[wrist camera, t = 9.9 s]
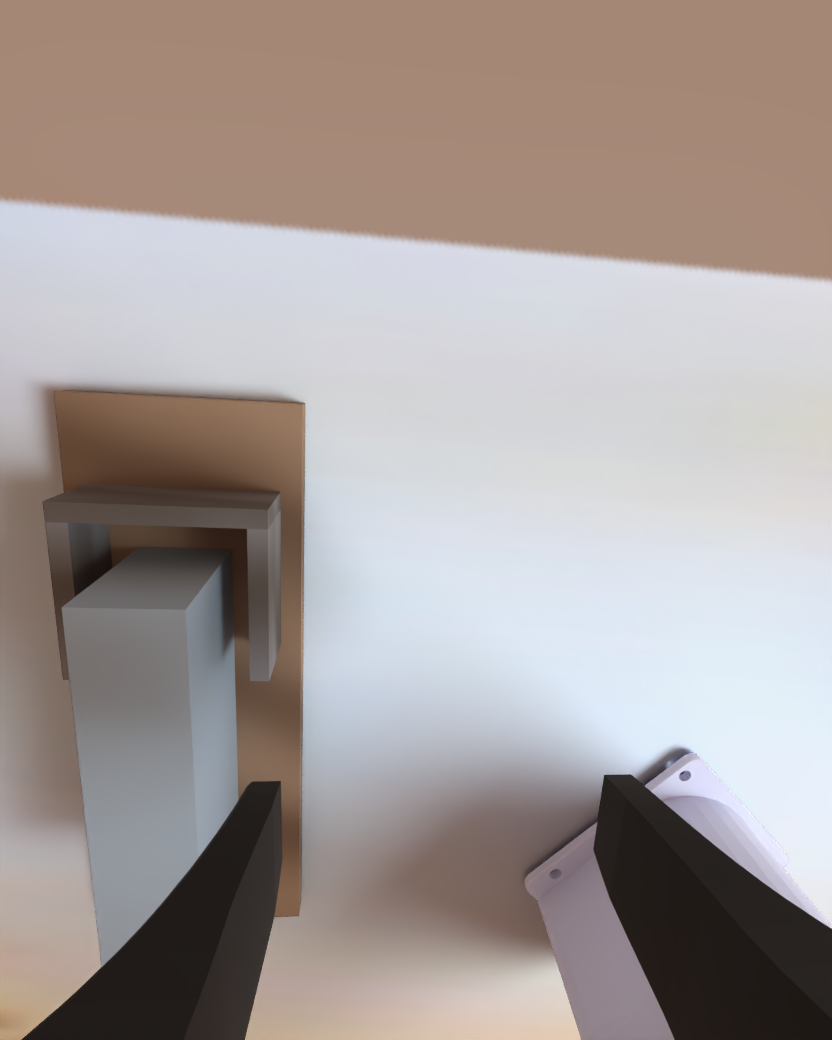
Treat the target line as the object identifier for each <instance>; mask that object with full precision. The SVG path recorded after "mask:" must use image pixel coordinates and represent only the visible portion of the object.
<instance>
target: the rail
mask: <svg viewBox="0 0 832 1040" xmlns="http://www.w3.org/2000/svg"><path fill="white" fill-rule="evenodd" d="M62 616H63V625H64V634H65V643H66V652H67V661H68V670H69V679H70V688H71V697H72V706H73V715H74V724H75V733H76V742H77V751H78V760H79V769H80V778H81V787H82V796H83V805H84V814H85V823H86V832H87V841H88V850H89V859H90V868H91V877H92V886H93V895H94V904H95V913H96V922H97V931H98V940H99V949H100V957H101V966H103V965H104V964H105V963H106V962H107V961H108V960H109V959H110V958H111V957H112V956H113V955H115V954H116V953H117V952H118V951H119V950H120V948H121V947H122V946H123V945H124V944H125V943H126V942H127V941H128V940H129V939H130V938H131V937H132V936H133V935H134V934H135V933H136V932H137V930H138V929H139V928H140V927H141V926H142V925H143V924H144V923H145V922H146V921H147V920H148V918H149V917H150V916H151V915H152V914H153V913H154V912H155V910H156V909H157V908H158V907H159V906H160V905H161V904H162V902H163V901H164V900H165V899H166V898H167V896H168V895H169V894H170V893H171V892H172V890H173V889H174V888H175V887H176V885H177V884H178V883H179V882H180V880H181V879H182V878H183V877H184V876H185V874H186V873H187V872H188V871H189V869H190V868H191V867H192V866H193V864H194V863H195V862H196V860H197V859H198V858H199V856H200V855H201V854H202V852H203V851H204V849H205V848H206V847H207V845H208V844H209V843H210V841H211V840H212V839H213V837H214V836H215V834H216V833H217V832H218V830H219V829H220V827H221V826H222V824H223V823H224V821H225V820H226V819H227V817H228V816H229V814H230V813H231V811H232V810H233V808H234V806H235V805H236V803H237V802H238V763H237V726H236V689H235V652H234V616H233V579H232V549H202V548H168V547H139V548H138V549H137V550H135V551H134V552H133V553H131V554H130V555H129V556H127V557H126V558H125V559H124V560H122V561H121V562H120V563H118V564H117V565H116V566H115V567H113V568H112V569H111V570H109V571H108V572H107V573H105V574H104V575H103V576H102V577H100V578H99V579H98V580H96V581H95V582H94V583H93V584H91V585H90V586H89V587H87V588H86V589H85V590H84V591H82V592H81V593H80V594H78V595H77V596H76V597H74V598H73V599H72V600H71V601H69V602H68V603H67V604H65V605H64V606H63V607H62Z"/></svg>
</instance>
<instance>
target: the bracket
mask: <svg viewBox="0 0 832 1040" xmlns="http://www.w3.org/2000/svg"><path fill="white" fill-rule="evenodd" d="M54 399H55V409H56V418H57V428H58V438H59V447H60V457H61V467H62V476H63V486H64V493H63V494H60V495H58V496H55V497H53V498H50V499H48V500H45V501H43V508H44V517H45V526H46V535H47V544H48V552H49V561H50V570H51V579H52V588H53V596H54V605H55V614H56V623H57V632H58V640H59V649H60V658H61V667H62V676H63V680H70V679H69V670H68V661H67V652H66V643H65V634H64V625H63V616H62V607H63V606H64V605H65V604H67V603H68V602H69V601H71V600H72V599H73V598H74V597H76V596H77V595H78V594H80V593H81V592H82V591H84V590H85V589H86V588H87V587H89V586H90V585H91V584H93V583H94V582H95V581H96V580H98V579H99V578H100V577H102V576H103V575H104V574H105V573H107V572H108V571H109V570H111V569H112V568H113V567H115V566H116V565H117V564H118V563H120V562H121V561H122V560H124V559H125V558H126V557H127V556H129V555H130V554H131V553H133V552H134V551H135V550H137V549H138V548H139V547H168V548H202V549H232V579H233V616H234V652H235V689H236V726H237V763H238V800H239V799H240V797H241V795H242V794H243V792H244V790H245V789H246V787H247V786H248V785H249V784H250V783H251V782H253V781H281V807H282V855H283V859H282V867H281V874H280V882H279V889H278V896H277V903H276V910H275V915H274V917H289V916H299V911H300V904H301V852H302V732H303V612H304V492H305V403H289V402H271V401H253V400H235V399H216V398H198V397H180V396H162V395H143V394H125V393H107V392H88V391H70V390H65V391H54Z"/></svg>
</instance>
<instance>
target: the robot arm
mask: <svg viewBox="0 0 832 1040" xmlns="http://www.w3.org/2000/svg"><path fill="white" fill-rule="evenodd" d="M683 771H685V772H684V773H683V774H681V775H679V774H680V773H681V772H683ZM282 859H283V855H282V807H281V781H253V782H251V783H250V784H249V785H248V786H247V787H246V789H245V790H244V792H243V794H242V795H241V797H240V799H239V800H238V802H237V803H236V805H235V806H234V808H233V810H232V811H231V813H230V814H229V816H228V817H227V819H226V820H225V821H224V823H223V824H222V826H221V827H220V829H219V830H218V832H217V833H216V834H215V836H214V837H213V839H212V840H211V841H210V843H209V844H208V845H207V847H206V848H205V849H204V851H203V852H202V854H201V855H200V856H199V858H198V859H197V860H196V862H195V863H194V864H193V866H192V867H191V868H190V869H189V871H188V872H187V873H186V874H185V876H184V877H183V878H182V879H181V880H180V882H179V883H178V884H177V885H176V887H175V888H174V889H173V890H172V892H171V893H170V894H169V895H168V896H167V898H166V899H165V900H164V901H163V902H162V904H161V905H160V906H159V907H158V908H157V909H156V910H155V912H154V913H153V914H152V915H151V916H150V917H149V918H148V920H147V921H146V922H145V923H144V924H143V925H142V926H141V927H140V928H139V929H138V930H137V932H136V933H135V934H134V935H133V936H132V937H131V938H130V939H129V940H128V941H127V942H126V943H125V944H124V945H123V946H122V947H121V948H120V950H119V951H118V952H117V953H116V954H115V955H113V956H112V957H111V958H110V959H109V960H108V961H107V962H106V963H105V964H104V965H103V966H102V967H101V968H100V969H99V970H98V971H97V972H96V973H95V974H94V975H93V976H92V977H91V978H90V979H89V980H88V981H87V982H86V983H85V984H84V985H83V986H82V987H81V988H80V989H79V990H78V991H76V992H75V993H74V994H73V995H72V996H71V997H70V998H69V999H68V1000H67V1001H66V1002H64V1003H63V1004H62V1005H61V1006H60V1007H59V1008H58V1009H56V1010H55V1011H54V1012H53V1013H52V1014H51V1015H49V1016H48V1017H47V1018H46V1019H45V1020H44V1021H42V1022H41V1023H40V1024H39V1025H38V1026H37V1027H36V1028H34V1029H33V1030H32V1031H31V1032H30V1033H29V1034H27V1035H26V1036H25V1037H24V1038H23V1039H22V1040H245V1036H246V1032H247V1028H248V1024H249V1020H250V1015H251V1011H252V1007H253V1003H254V999H255V995H256V990H257V986H258V982H259V978H260V974H261V970H262V965H263V961H264V957H265V953H266V949H267V944H268V940H269V936H270V932H271V928H272V923H273V919H274V915H275V910H276V903H277V896H278V889H279V882H280V874H281V867H282ZM788 860H789V857H788V855H787V854H786V853H785V852H784V850H783V849H782V848H781V847H780V846H779V845H778V844H777V843H776V841H775V840H774V839H773V838H772V837H771V836H770V835H769V834H768V832H767V831H766V830H765V829H764V828H763V827H762V826H761V825H760V823H759V822H758V821H757V820H756V819H755V818H754V817H753V816H752V814H751V813H750V812H749V811H748V810H747V809H746V808H745V807H744V805H743V804H742V803H741V802H740V801H739V800H738V799H737V798H736V796H735V795H734V794H733V793H732V792H731V791H730V790H729V789H728V787H727V786H726V785H725V784H724V783H723V782H722V781H721V780H720V778H719V777H718V776H717V775H716V774H715V773H714V772H713V771H712V769H711V768H710V767H709V766H708V765H707V764H706V763H705V762H704V760H703V759H702V758H701V757H700V756H699V755H697V754H695V753H689V754H686V755H684V756H683V757H681V758H680V759H679V760H677V761H676V762H675V763H673V764H672V765H671V766H670V767H668V768H667V769H666V770H664V771H663V772H662V773H660V774H659V775H658V776H656V777H655V778H654V779H653V780H651V781H650V782H649V783H647V784H646V785H645V786H644V785H643V784H642V783H640V782H639V781H638V780H637V779H635V778H634V777H633V776H632V775H604V781H603V787H602V794H601V801H600V807H599V814H598V821H597V822H596V823H595V824H594V825H592V826H591V827H590V828H588V829H587V830H586V831H584V832H583V833H582V834H580V835H579V836H578V837H577V838H575V839H574V840H573V841H571V842H570V843H569V844H567V845H566V846H565V847H563V848H562V849H561V850H559V851H558V852H557V853H556V854H554V855H553V856H552V857H550V858H549V859H548V860H546V861H545V862H544V863H542V864H541V865H540V866H538V867H537V868H536V869H535V870H533V871H532V872H531V873H529V874H528V875H527V876H526V878H525V880H524V882H525V887H526V890H527V892H528V893H529V894H530V895H531V896H532V897H533V898H535V899H536V900H537V901H538V905H539V908H540V911H541V914H542V917H543V921H544V924H545V927H546V930H547V933H548V936H549V939H550V943H551V946H552V949H553V952H554V955H555V958H556V961H557V965H558V968H559V971H560V974H561V977H562V980H563V983H564V987H565V990H566V993H567V996H568V999H569V1002H570V1005H571V1009H572V1012H573V1015H574V1018H575V1021H576V1024H577V1027H578V1031H579V1034H580V1037H581V1040H832V925H831V924H830V923H829V922H828V921H827V919H826V918H825V917H824V916H823V915H822V913H821V912H820V911H819V910H818V909H817V907H816V906H815V905H814V904H813V903H812V901H811V900H810V899H809V898H808V897H807V895H806V894H805V893H804V892H803V891H802V889H801V888H800V887H799V886H798V885H797V883H796V882H795V881H794V880H793V879H792V877H791V876H790V875H789V874H788V873H787V871H786V870H785V869H784V867H785V866H786V865H787V863H788ZM554 869H556V870H554ZM552 870H554V871H552Z"/></svg>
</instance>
